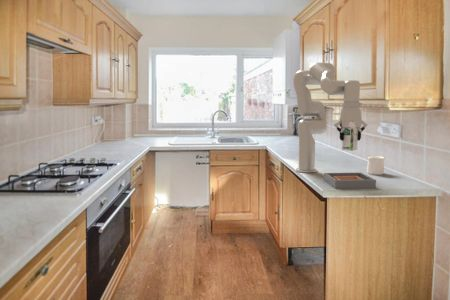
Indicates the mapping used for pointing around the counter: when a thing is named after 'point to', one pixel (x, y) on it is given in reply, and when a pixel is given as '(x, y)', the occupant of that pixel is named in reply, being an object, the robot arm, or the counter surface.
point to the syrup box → (350, 137)
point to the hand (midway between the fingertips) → (350, 140)
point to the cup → (375, 165)
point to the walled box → (349, 180)
